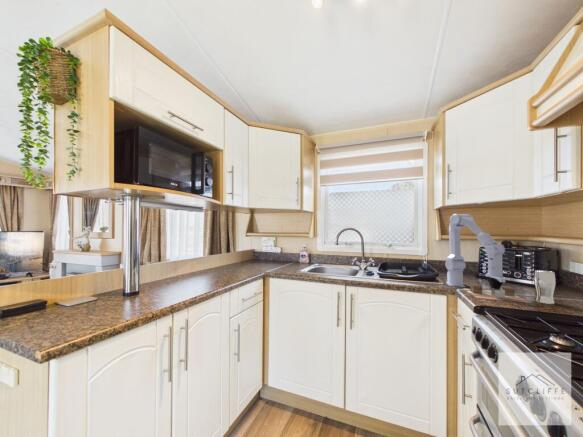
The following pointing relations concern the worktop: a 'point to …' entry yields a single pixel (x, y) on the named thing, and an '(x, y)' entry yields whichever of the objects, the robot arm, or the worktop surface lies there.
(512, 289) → the walnut block
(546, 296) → the beer glass
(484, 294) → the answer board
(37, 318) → the worktop surface
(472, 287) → the walnut block
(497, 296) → the metal block
